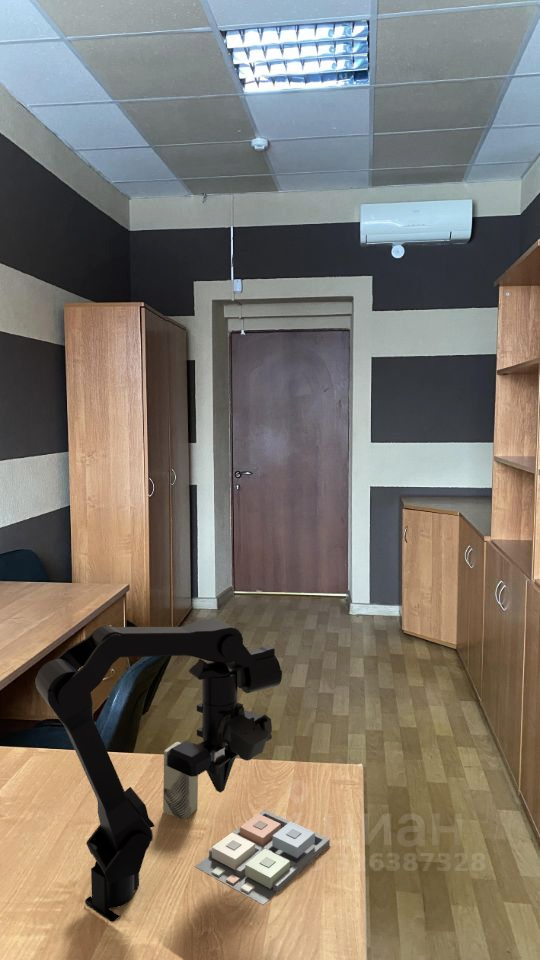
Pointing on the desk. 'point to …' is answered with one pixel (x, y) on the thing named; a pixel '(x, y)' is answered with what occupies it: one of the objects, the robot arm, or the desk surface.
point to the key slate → (293, 839)
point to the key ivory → (233, 850)
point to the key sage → (266, 868)
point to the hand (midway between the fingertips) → (220, 790)
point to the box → (179, 791)
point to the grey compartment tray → (237, 876)
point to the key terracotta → (259, 829)
